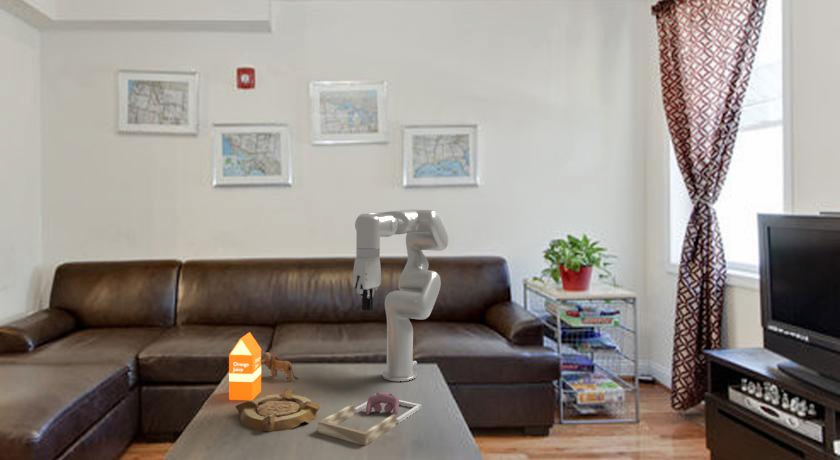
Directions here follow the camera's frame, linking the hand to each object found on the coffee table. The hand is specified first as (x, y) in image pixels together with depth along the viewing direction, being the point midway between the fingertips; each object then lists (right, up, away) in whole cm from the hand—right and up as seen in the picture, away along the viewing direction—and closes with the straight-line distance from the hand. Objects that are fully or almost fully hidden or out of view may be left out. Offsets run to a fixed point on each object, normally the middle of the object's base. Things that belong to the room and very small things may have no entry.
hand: (367, 309), depth 177 cm
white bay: (+7, -30, -10) cm, 32 cm away
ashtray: (-25, -30, -14) cm, 42 cm away
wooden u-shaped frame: (-1, -30, -23) cm, 38 cm away
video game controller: (+6, -30, -11) cm, 33 cm away
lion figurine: (-34, -28, +19) cm, 48 cm away
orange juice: (-40, -29, +2) cm, 49 cm away
